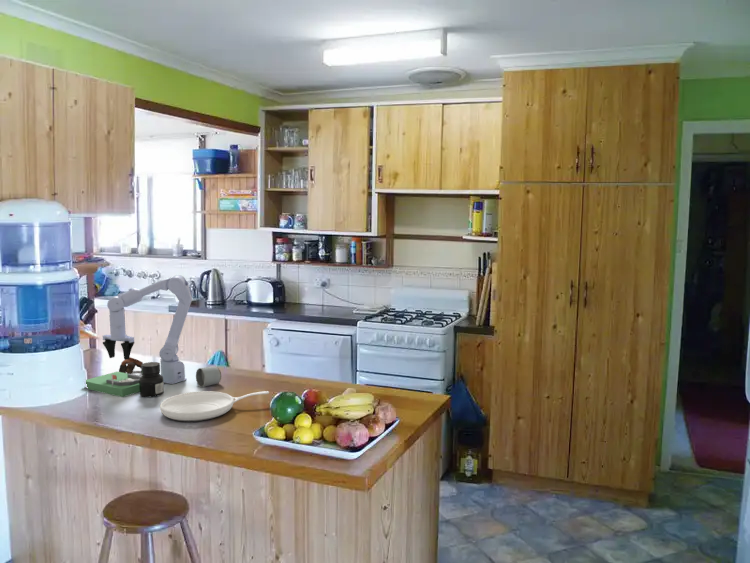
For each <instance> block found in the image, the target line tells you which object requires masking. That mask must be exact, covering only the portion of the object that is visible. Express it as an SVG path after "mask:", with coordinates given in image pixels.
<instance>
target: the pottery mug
mask: <svg viewBox="0 0 750 563" xmlns="http://www.w3.org/2000/svg"><path fill="white" fill-rule="evenodd" d="M142 364H144V362H143V361H140V360H138V359H136V358H135V357H131V356H130V357H129V359H126V360H123V361H122V362H121V364H120V365H119V369H118V372H122V373H127V374H133V372H134V370H135V368H136V367H137V368H139V369H141V365H142ZM140 372H141V373H142V371H141V370H140Z"/></svg>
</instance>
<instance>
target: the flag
mask: <svg viewBox="0 0 750 563" xmlns="http://www.w3.org/2000/svg"><path fill="white" fill-rule="evenodd" d="M111 376H112V387H114V382H113V379H115V380H117V376H116V375H113V374H111Z"/></svg>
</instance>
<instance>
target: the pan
mask: <svg viewBox="0 0 750 563" xmlns="http://www.w3.org/2000/svg"><path fill="white" fill-rule="evenodd" d="M269 393H270V391H268V390H266V391H265V390H263V391H258V392H257V391H256V392H251V393H248V394H244V395H242V396H237V397H236V396H235V397H234V396H232V395H230V394H228V393H226V392H220V391H210V390H209V391H207V390H204V391H203V390H202V391H192V392H184V393H180V394H176V395H173V396H170V397H167V398H166V399H164V400H162V402H161V403H160V405H159V409H160V411H161V414H163V415H164V416H165V417H166V418H169V419H170V420H172V421H173V420H174V421H179V422H199V421H207V420H212V419H214V418H218V417H221V416H223V415H225V414H227V412H229V411H230V410H231V409H232V408H233V405H234V403H237V402H238V401H240V400H243V399H245V398H248V397H251V396H258V395H269Z"/></svg>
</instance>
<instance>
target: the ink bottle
mask: <svg viewBox="0 0 750 563" xmlns="http://www.w3.org/2000/svg"><path fill="white" fill-rule="evenodd" d="M140 369H141V370H140V372H141V371H142V372H141V376H142V377H140V379H139V390H140V392H139V396H141V397H142V398H155V397H159V396H162V395H163V394H164V393H165V386H164V385H165V384H164V382H163V376H162V375H161V362H157V361H149V362H143V364H142V365H141V368H140Z"/></svg>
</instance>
